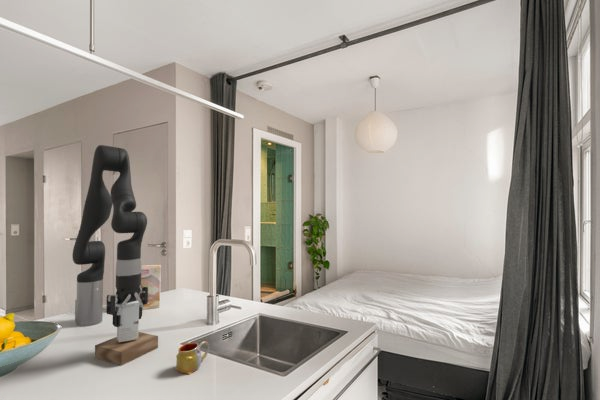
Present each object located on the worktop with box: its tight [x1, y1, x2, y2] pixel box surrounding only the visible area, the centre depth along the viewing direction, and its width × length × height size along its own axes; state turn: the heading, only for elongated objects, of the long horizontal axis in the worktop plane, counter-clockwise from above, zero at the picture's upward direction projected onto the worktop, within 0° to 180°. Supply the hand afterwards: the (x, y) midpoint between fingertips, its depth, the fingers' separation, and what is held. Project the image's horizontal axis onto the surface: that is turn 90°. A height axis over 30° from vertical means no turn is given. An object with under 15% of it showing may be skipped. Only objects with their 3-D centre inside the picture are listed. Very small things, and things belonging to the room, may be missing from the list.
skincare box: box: [116, 301, 140, 343], centre depth 111 cm, size 6×4×12 cm
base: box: [94, 331, 159, 366], centre depth 111 cm, size 12×14×4 cm
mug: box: [175, 340, 211, 376], centre depth 103 cm, size 12×7×7 cm, turn 149°
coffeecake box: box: [138, 264, 162, 310], centre depth 161 cm, size 15×7×20 cm, turn 111°
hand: (127, 322), depth 111 cm, fingers open, 7 cm apart
